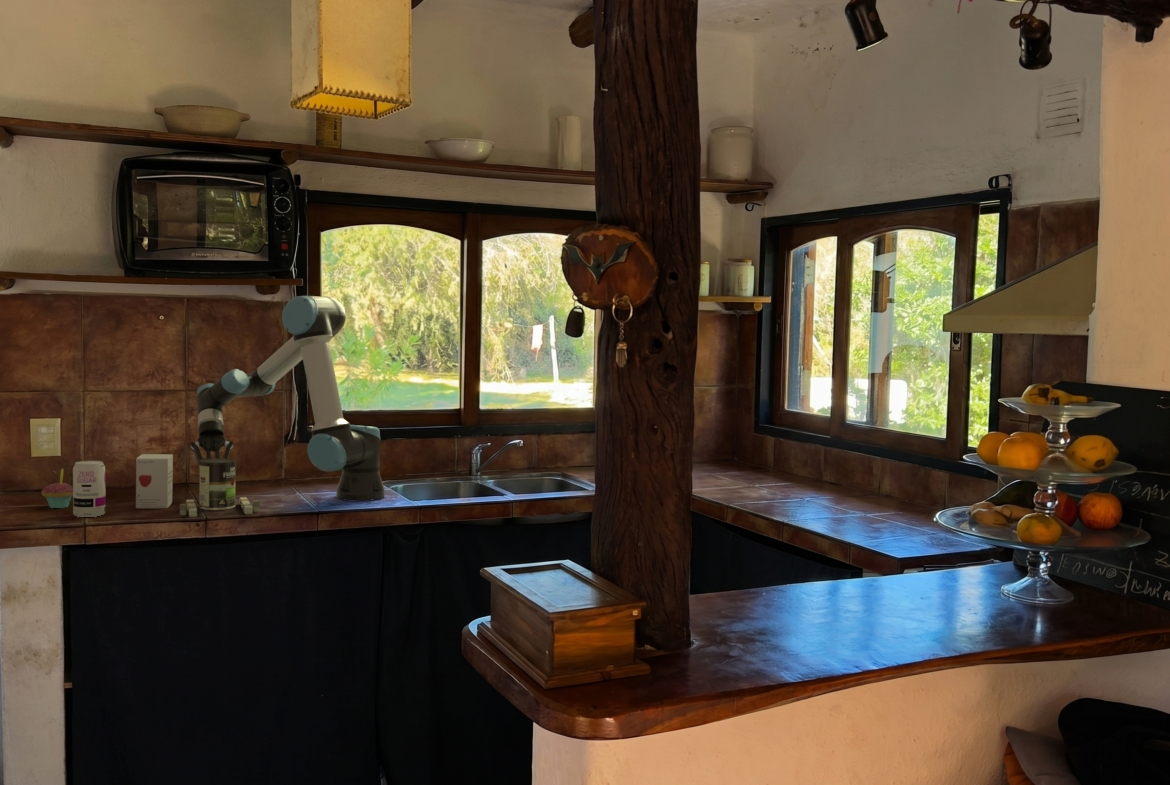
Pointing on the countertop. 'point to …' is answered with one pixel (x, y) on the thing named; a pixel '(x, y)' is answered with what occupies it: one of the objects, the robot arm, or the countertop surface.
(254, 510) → the slot track
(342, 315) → the robot arm
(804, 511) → the countertop surface
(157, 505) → the supplement box
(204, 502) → the coffee can
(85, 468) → the supplement can
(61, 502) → the cupcake
